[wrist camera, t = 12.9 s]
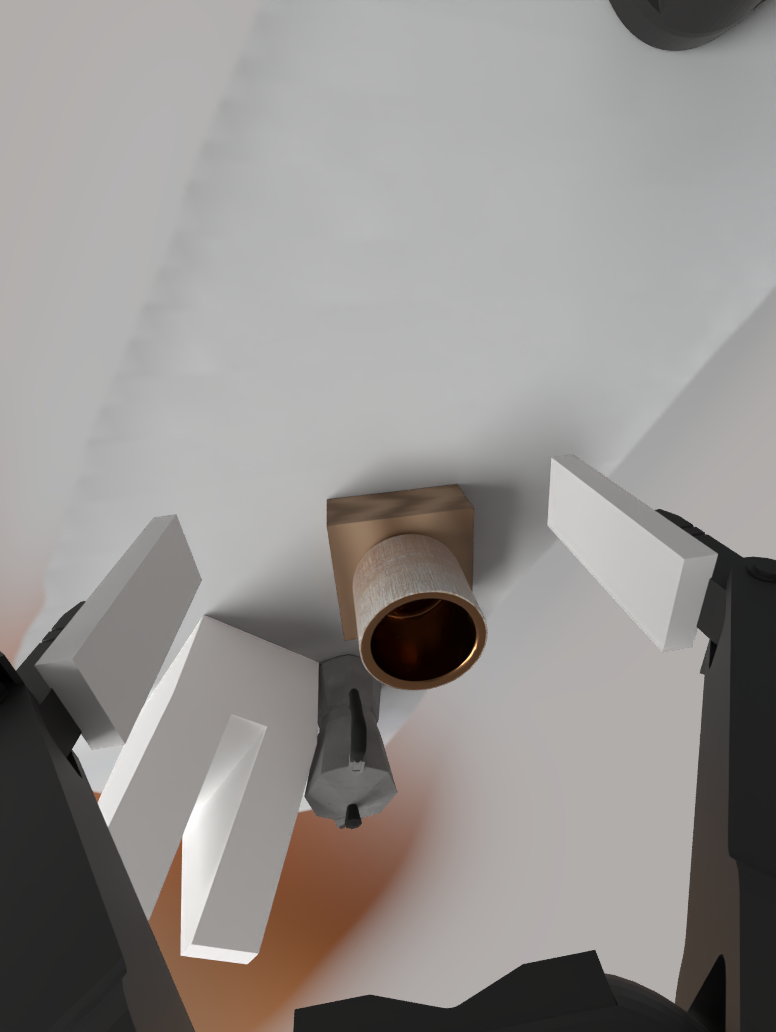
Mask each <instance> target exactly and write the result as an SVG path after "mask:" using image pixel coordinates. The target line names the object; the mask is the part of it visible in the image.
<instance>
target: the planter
mask: <svg viewBox="0 0 776 1032" xmlns="http://www.w3.org/2000/svg"><path fill="white" fill-rule="evenodd" d="M353 597H354V606H355V614H356V622H357V632H358V642H359V651H360V657H361V660H362V662H363V665H364V666H365V668H366V670H367V671H368V672H369V673H370V674H371V675H372V676H373V677H374V678H375V679H377V680H378V681H380V682H381V683H383V684H385V685H388V686H390V687H393V688H397V689H402V690H426V689H432V688H436V687H439V686H442V685H445V684H447V683H449V682H452V681H454V680H455V679H457V678H459V677H460V676H462V675H463V674H464V673H466V672H467V671H468V670H469V669H470V668H471V667H472V666H473V665H474V664H475V663H476V661H477V660H478V659H479V658H480V656H481V654H482V652H483V650H484V648H485V645H486V641H487V625H486V621H485V618H484V616H483V614H482V612H481V609H480V607H479V605H478V603H477V601H476V599H475V597H474V595H473V593H472V591H471V589H470V586H469V584H468V582H467V580H466V578H465V575H464V573H463V571H462V569H461V567H460V565H459V563H458V561H457V559H456V557H455V556H454V554H453V553H452V552H451V551H450V549H449V548H448V547H447V546H446V545H444V544H443V543H442V542H440V541H438V540H436V539H434V538H432V537H429V536H425V535H420V534H403V535H398V536H394V537H391V538H388V539H385V540H383V541H381V542H379V543H378V544H376V545H375V546H373V547H372V548H371V549H370V550H369V551H368V552H367V553H366V554H365V555H364V556H363V557H362V559H361V560H360V562H359V563H358V565H357V567H356V570H355V573H354V578H353Z"/></svg>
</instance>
